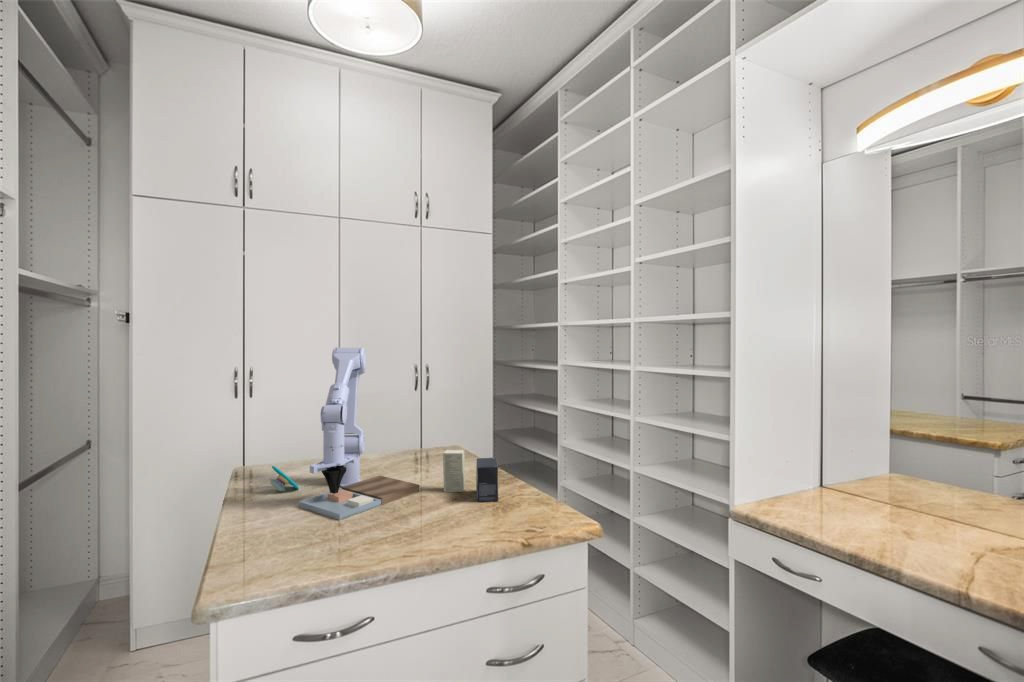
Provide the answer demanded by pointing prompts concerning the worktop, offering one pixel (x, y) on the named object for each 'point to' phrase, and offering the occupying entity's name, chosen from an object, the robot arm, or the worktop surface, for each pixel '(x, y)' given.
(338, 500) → the terracotta tile
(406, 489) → the walnut board
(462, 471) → the skincare box
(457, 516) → the worktop surface
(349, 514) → the box
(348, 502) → the cream tile
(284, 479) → the ornament
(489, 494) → the small box
